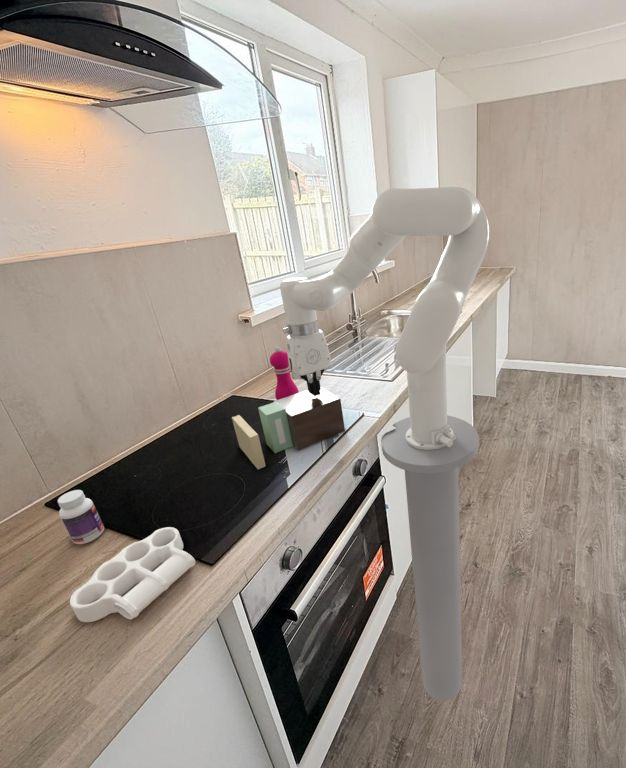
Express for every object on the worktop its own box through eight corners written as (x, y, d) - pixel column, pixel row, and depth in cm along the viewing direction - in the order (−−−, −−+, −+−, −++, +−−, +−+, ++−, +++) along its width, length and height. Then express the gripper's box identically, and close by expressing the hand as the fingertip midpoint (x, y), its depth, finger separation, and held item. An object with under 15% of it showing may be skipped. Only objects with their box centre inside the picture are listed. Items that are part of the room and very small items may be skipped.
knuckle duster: (115, 643, 61) (60, 609, 67) (212, 554, 75) (160, 533, 82) (106, 627, 59) (51, 594, 66) (207, 540, 74) (155, 519, 80)
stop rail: (266, 466, 100) (258, 434, 97) (258, 469, 99) (249, 437, 96) (247, 444, 111) (239, 414, 107) (239, 447, 110) (231, 417, 106)
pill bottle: (109, 531, 83) (91, 492, 79) (79, 549, 79) (58, 509, 75) (98, 522, 86) (80, 484, 82) (68, 538, 82) (48, 499, 78)
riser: (345, 431, 113) (340, 398, 109) (298, 450, 106) (291, 416, 102) (324, 416, 122) (319, 385, 118) (280, 433, 115) (273, 401, 111)
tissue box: (276, 401, 108) (257, 407, 106) (285, 408, 104) (266, 415, 101) (284, 437, 113) (266, 444, 110) (293, 446, 108) (275, 453, 105)
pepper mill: (274, 412, 127) (260, 351, 119) (283, 401, 134) (271, 343, 126) (296, 412, 126) (284, 350, 118) (304, 401, 133) (293, 342, 125)
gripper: (281, 338, 97) (295, 407, 104) (336, 324, 105) (346, 389, 112) (269, 332, 102) (283, 398, 110) (322, 319, 111) (332, 381, 118)
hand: (315, 393), depth 111 cm, fingers closed
